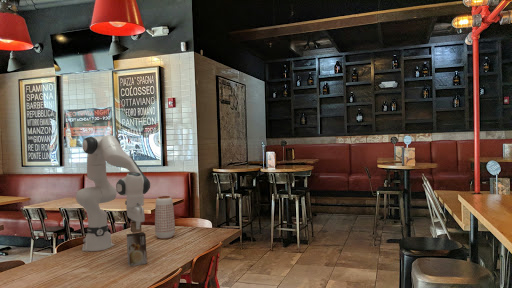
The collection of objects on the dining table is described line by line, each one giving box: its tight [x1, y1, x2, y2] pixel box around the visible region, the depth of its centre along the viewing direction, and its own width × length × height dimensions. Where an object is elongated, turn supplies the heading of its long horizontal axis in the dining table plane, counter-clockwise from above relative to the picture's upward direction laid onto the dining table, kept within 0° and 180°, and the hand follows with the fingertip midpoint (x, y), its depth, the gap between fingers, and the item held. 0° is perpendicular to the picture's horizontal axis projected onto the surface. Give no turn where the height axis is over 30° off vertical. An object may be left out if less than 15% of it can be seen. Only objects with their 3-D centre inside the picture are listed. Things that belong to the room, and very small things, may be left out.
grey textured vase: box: [154, 195, 176, 240], centre depth 255 cm, size 13×13×28 cm
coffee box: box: [126, 231, 148, 267], centre depth 199 cm, size 9×6×16 cm
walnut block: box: [130, 221, 143, 233], centre depth 199 cm, size 4×4×5 cm
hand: (136, 228), depth 199 cm, fingers closed on walnut block, 4 cm apart
